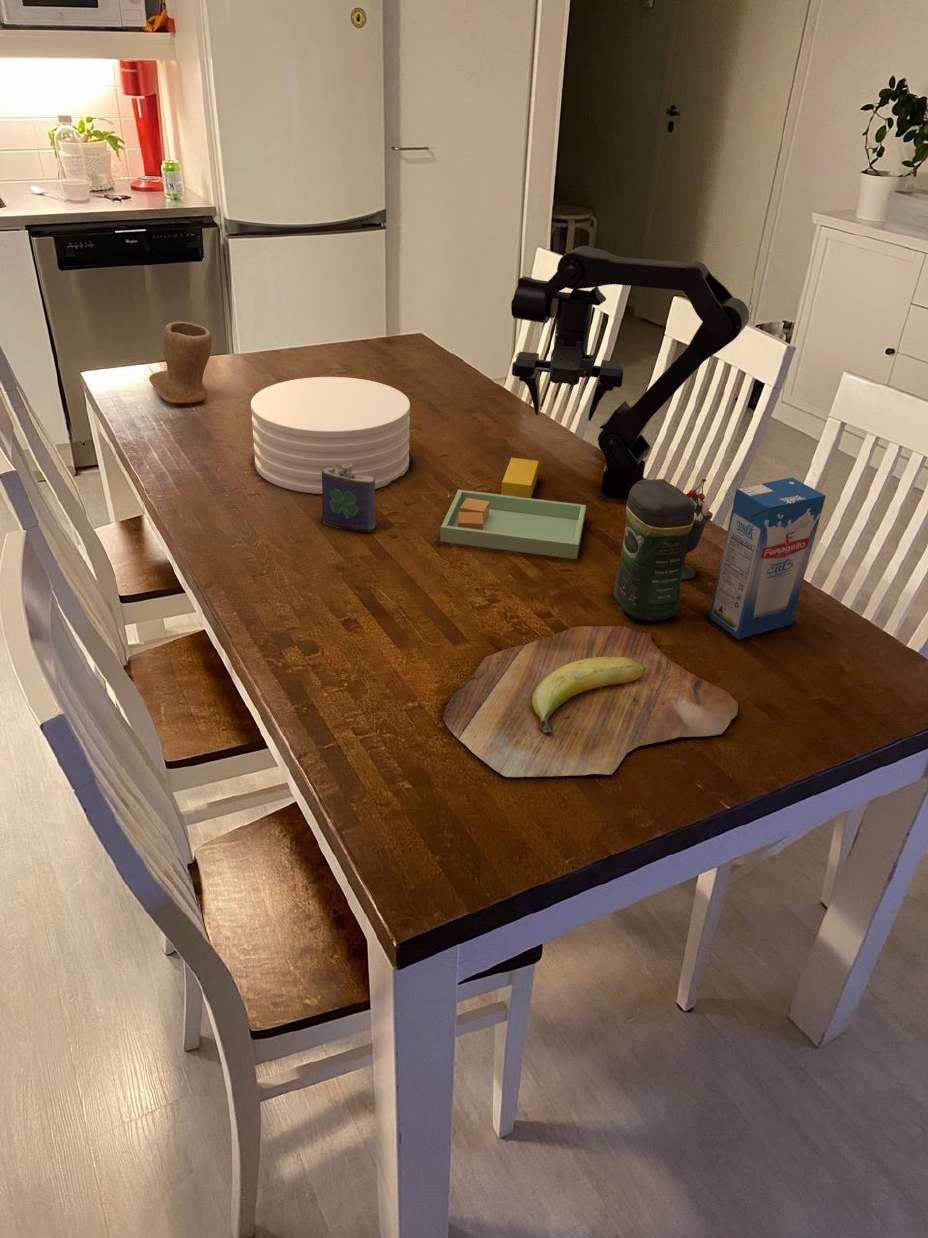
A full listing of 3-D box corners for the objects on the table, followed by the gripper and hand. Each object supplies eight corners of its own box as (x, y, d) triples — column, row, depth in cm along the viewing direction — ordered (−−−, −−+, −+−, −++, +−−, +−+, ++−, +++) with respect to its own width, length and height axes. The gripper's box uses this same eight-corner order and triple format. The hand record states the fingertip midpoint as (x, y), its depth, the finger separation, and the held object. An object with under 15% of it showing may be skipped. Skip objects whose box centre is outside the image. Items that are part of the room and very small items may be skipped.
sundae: (703, 566, 152) (721, 477, 144) (697, 586, 146) (715, 494, 138) (661, 557, 153) (676, 469, 145) (653, 577, 148) (669, 486, 140)
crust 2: (482, 526, 158) (483, 512, 157) (482, 537, 155) (483, 523, 154) (457, 525, 158) (458, 511, 157) (457, 536, 155) (458, 522, 154)
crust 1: (489, 515, 162) (490, 501, 161) (482, 525, 159) (483, 511, 157) (466, 511, 163) (466, 497, 162) (459, 521, 160) (460, 507, 158)
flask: (377, 528, 157) (377, 466, 152) (369, 535, 155) (368, 473, 149) (327, 516, 160) (324, 455, 154) (318, 523, 158) (315, 462, 152)
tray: (584, 521, 163) (586, 504, 161) (576, 562, 151) (578, 544, 149) (457, 505, 166) (458, 489, 164) (439, 544, 154) (440, 526, 152)
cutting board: (618, 613, 138) (621, 590, 136) (763, 717, 119) (770, 692, 117) (404, 684, 121) (404, 659, 119) (533, 818, 102) (536, 790, 100)
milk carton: (737, 639, 134) (768, 507, 123) (708, 617, 139) (735, 488, 128) (791, 624, 138) (826, 495, 127) (761, 603, 143) (792, 477, 132)
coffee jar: (684, 620, 137) (708, 501, 128) (633, 627, 135) (653, 506, 125) (653, 586, 145) (673, 471, 135) (605, 592, 143) (621, 475, 133)
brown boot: (222, 403, 202) (216, 331, 194) (164, 410, 197) (155, 336, 189) (204, 381, 213) (198, 311, 205) (149, 386, 209) (140, 316, 201)
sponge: (537, 481, 176) (539, 460, 174) (529, 506, 167) (531, 485, 165) (509, 478, 177) (511, 457, 175) (500, 503, 168) (502, 481, 165)
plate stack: (224, 474, 172) (218, 412, 166) (304, 424, 194) (302, 368, 188) (366, 506, 164) (365, 442, 158) (433, 450, 186) (434, 392, 180)
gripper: (510, 334, 157) (503, 427, 165) (626, 346, 154) (613, 439, 163) (519, 317, 166) (513, 405, 174) (629, 328, 164) (617, 417, 172)
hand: (563, 417), depth 171 cm, fingers open, 9 cm apart
